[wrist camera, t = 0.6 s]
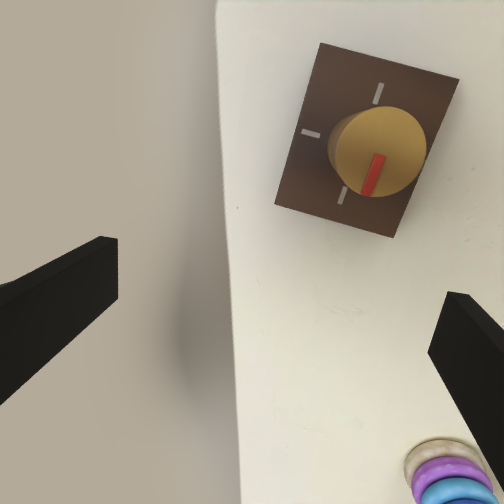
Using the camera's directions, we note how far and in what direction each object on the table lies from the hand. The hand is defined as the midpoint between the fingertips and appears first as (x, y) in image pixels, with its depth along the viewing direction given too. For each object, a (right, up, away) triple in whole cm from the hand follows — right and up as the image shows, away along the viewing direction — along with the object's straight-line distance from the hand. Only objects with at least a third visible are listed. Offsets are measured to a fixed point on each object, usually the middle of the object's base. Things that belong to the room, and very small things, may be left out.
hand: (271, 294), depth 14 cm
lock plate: (+8, +11, +16) cm, 20 cm away
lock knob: (+7, +10, +13) cm, 18 cm away
